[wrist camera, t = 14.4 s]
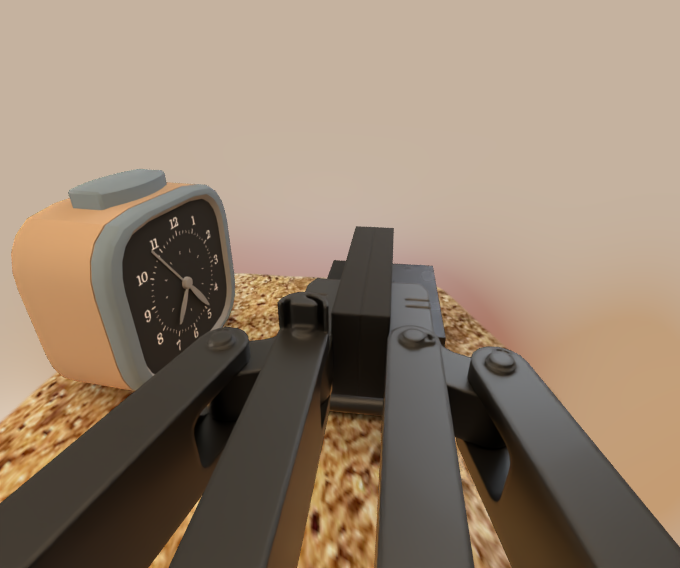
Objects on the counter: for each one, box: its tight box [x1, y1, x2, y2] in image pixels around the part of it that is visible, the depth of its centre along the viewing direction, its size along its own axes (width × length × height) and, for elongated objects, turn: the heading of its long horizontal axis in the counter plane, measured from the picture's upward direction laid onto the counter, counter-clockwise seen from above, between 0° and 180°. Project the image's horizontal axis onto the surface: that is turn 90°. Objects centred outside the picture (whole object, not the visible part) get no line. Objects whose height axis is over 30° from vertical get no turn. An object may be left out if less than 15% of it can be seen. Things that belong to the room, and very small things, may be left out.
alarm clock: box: [11, 169, 235, 391], centre depth 44 cm, size 21×10×22 cm, turn 167°
